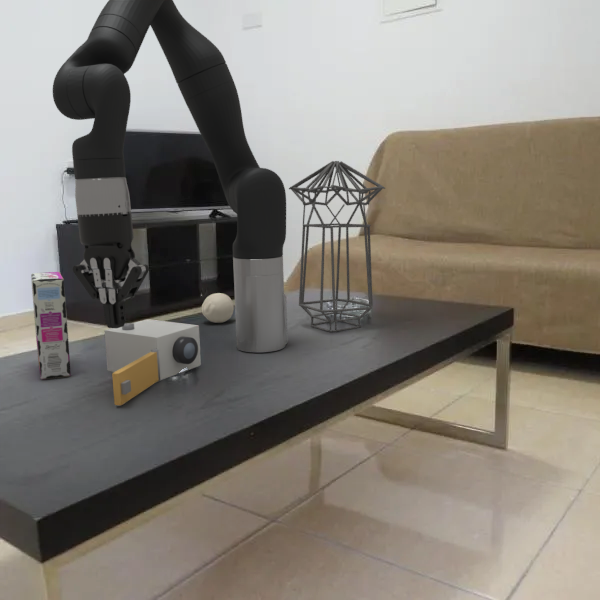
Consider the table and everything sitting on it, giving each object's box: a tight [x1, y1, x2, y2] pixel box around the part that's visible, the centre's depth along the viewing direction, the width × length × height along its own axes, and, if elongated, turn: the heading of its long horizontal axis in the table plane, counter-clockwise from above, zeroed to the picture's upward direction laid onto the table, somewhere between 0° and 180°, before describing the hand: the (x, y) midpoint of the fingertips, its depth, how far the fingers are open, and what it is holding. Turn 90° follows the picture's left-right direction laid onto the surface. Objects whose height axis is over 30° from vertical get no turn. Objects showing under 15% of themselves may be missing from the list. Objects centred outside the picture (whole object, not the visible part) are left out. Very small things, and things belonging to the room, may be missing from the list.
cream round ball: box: [201, 292, 235, 324], centre depth 145 cm, size 7×7×7 cm
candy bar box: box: [30, 271, 72, 380], centre depth 109 cm, size 11×5×16 cm, turn 23°
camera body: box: [103, 318, 202, 381], centre depth 109 cm, size 10×14×8 cm
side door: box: [111, 349, 162, 406], centre depth 96 cm, size 13×2×5 cm, turn 167°
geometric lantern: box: [288, 160, 386, 333], centre depth 136 cm, size 16×16×35 cm
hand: (116, 327), depth 97 cm, fingers closed
